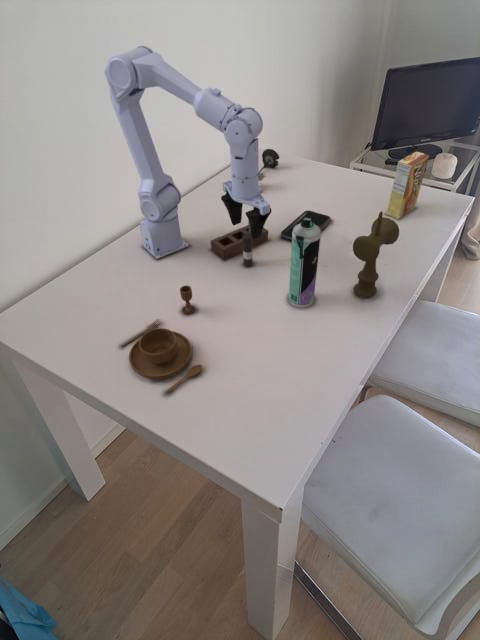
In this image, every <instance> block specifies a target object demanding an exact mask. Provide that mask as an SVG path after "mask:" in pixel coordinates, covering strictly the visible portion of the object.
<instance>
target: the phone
mask: <svg viewBox="0 0 480 640" xmlns="http://www.w3.org/2000/svg"><path fill="white" fill-rule="evenodd" d="M306 217H311V218H312V222H313V223H314V224H315V225H317V226H318V227H319V228H320V230H321V231H322V230H323V229H325V227H326V226H327V225H329V223H331V216H329V215H327V214H323V213H319V212H316V211H312V210H305V211H303V212H302V213H301V214H300V215H299V216H298V217H297V218H295V219H294V220H293V221H292V222H291V223H290V224H289V225H287V226H286V227H285V228H284V229H283V230H282V231H281V232H280V239H283V240H285V241H289V242H292V232H293V228H294V227H295V226H296V225H298V224H300V223H301V222H302V221H303V219H304V218H306Z"/></svg>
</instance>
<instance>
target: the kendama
mask: <svg viewBox="0 0 480 640" xmlns="http://www.w3.org/2000/svg"><path fill="white" fill-rule="evenodd" d="M370 228H371V229H370V233H369V234H368V235H360V236H357V237H356V238H355V239H354V241H353V243H352V253H353V254H354V256H355V257H356V258H357V259H358V260H360V261H362V262H364V266H363V268H362V270H361V269H360V271H359V272H358V273H357V279H358V281H357V283H355V285H354V287H353V288H352V289H353V293H354V294H355V295H356V296H358V297H359V298H363V299H370V298H371V299H372V298H373V297H375V296H376V295H377V293H378V288H377V286H376V282H377V281H378V279H379V277H380V276H379V272H377V259H378V257H379V255H380V251H381V247H382V246H383V245H387V246H388V245H393V244H395V243H396V242H397V241H398V239H399V236H400V227H399V225H398V223H396V222H395V220H393V219H391V218H389V217H384V216H383V211H379V213H378V217H377V218H376V219H375V220H374V221H373V222H372V224H371V227H370Z"/></svg>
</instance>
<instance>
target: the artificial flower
mask: <svg viewBox="0 0 480 640" xmlns="http://www.w3.org/2000/svg"><path fill="white" fill-rule="evenodd" d="M261 158H262V164H263V166H262V167H261V169H260V170H259V182H261V181H263V180H264V178H266V177H267V171H266V170H264V169H267V168H273V169H274V168H277V167H278V166H279V159H280V155H279V154H278V152H276V150H275V149H272V148H266V149H265V150H263V151H262V153H261ZM259 188H261V186H260V185H259Z"/></svg>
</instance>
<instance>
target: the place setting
mask: <svg viewBox="0 0 480 640" xmlns="http://www.w3.org/2000/svg"><path fill="white" fill-rule="evenodd" d="M179 294H180V297H181V300H182V301H184V302H185V305H184V306H183V307H182V309H181V310H182V311H181V312H182V313H183V314H184V315H192V314H194V313H195V311H196V307H195V306H194V305H191V302H190V301H191V300H192V299H193V290H192V287H191V286H190V285H182V286H181V287H180V288H179ZM161 323H162V321H161V320H160V319H159V318H157V319H156V320H155V321H154V322H152V324H150V325H149V326H148V327H147V328H146V329H144V330H142V331H141V332H140V333H137V334H136V335H135V336H133V337H132V338H130V339H129V340H127V341H126V342H124V343H123V344H121V345H120V347H125V346H126V345H128V344H130V343H131V342H133V341H134V340H136V339H137V340H136V342H135V343H133V345H132V346H131V348H130V350H129V354H128V361H129V364H130V366H131V368H132V370H133V371H134V372H135V373H136V374H137V375H140V377H144V378H146V379H150V380H151V379H152V380H161V379H167V378H170V377H173V376H175V375H176V374H179V373H180V372H181V371H182V370H184V369H185V368H186V366H187V365H188V364H189V362H190V360H191V357H192V352H193V351H192V345H191V342H190V341H189V339H188V338H187V337H186V336H185V335H184V334H182V333H180V332H177V331H173V330H170V329H169V328H165V327H159V328H157V327H158V326H159V325H160V324H161ZM140 336H141V337H140ZM139 337H140V338H139ZM138 338H139V339H138ZM202 368H203V365H202V364H199V363H198V364H195V365H193V366H191V367H190V368H189V370H188V371H187V373H186V374H185V375H184V377H182V378H181V379H180V380H178V381H177V382H176V383H174V384H173V385H172V386H171V387H169V388H168V389H167V390H166V391H165V395H166V394H169V393H170V392H172V391H173V390H174V389H176V388H177V387H178V386H180V384H182V383H183V382H184V381H185V380H186V379H187V378H191V377H194V376H196V375H198V374H199V373H200V372H201V370H202Z"/></svg>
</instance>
